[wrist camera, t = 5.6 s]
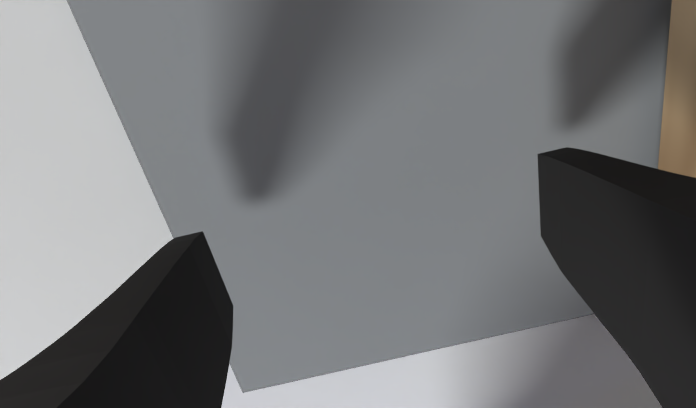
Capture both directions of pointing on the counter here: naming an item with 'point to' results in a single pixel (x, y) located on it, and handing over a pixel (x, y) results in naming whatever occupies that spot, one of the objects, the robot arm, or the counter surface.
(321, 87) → the mat
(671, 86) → the gate
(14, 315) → the counter surface
